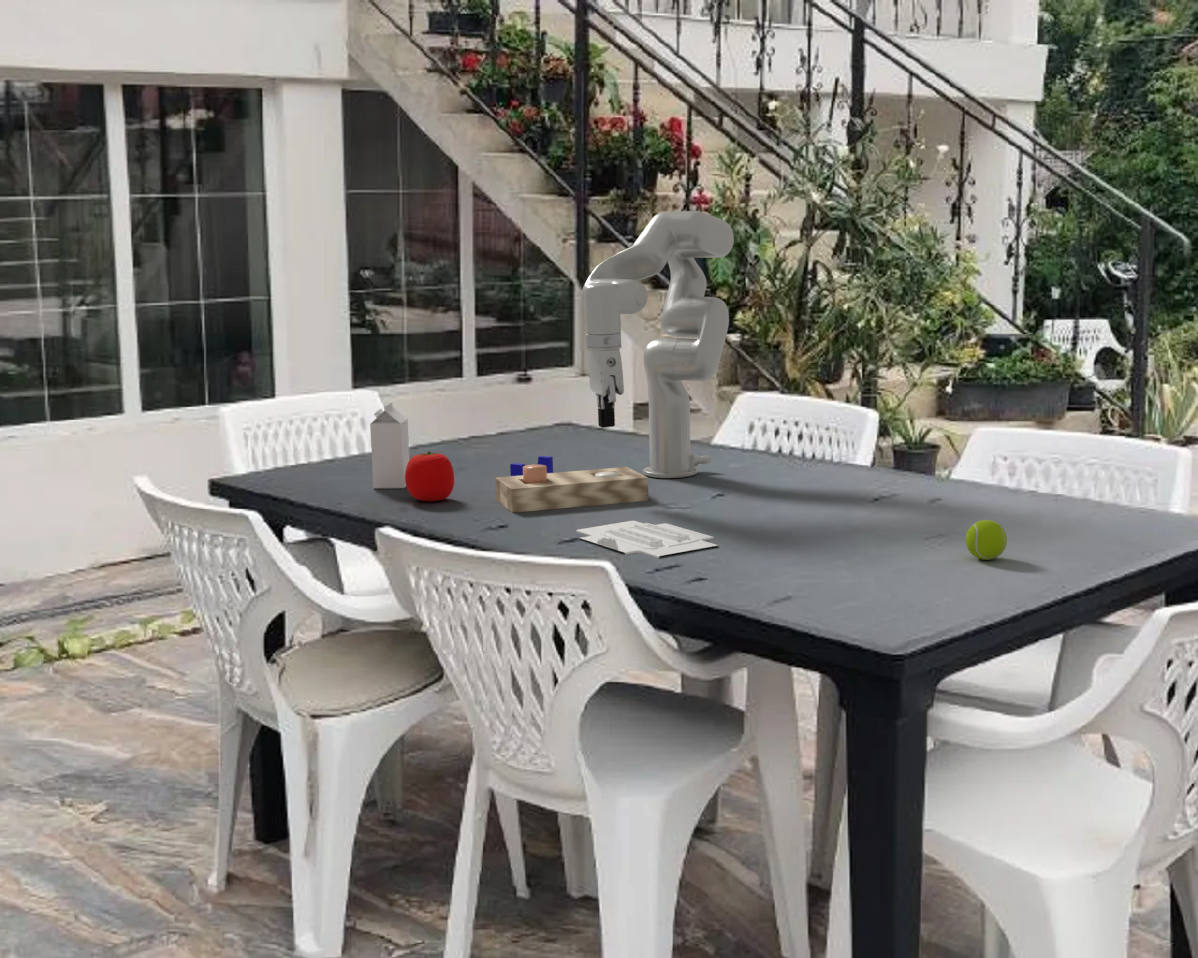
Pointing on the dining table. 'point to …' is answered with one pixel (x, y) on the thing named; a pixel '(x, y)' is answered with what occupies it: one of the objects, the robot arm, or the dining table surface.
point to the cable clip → (517, 468)
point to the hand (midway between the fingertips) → (606, 426)
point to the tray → (646, 538)
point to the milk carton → (389, 448)
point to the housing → (572, 490)
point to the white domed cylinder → (606, 474)
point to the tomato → (429, 477)
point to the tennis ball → (986, 539)
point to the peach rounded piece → (534, 474)
